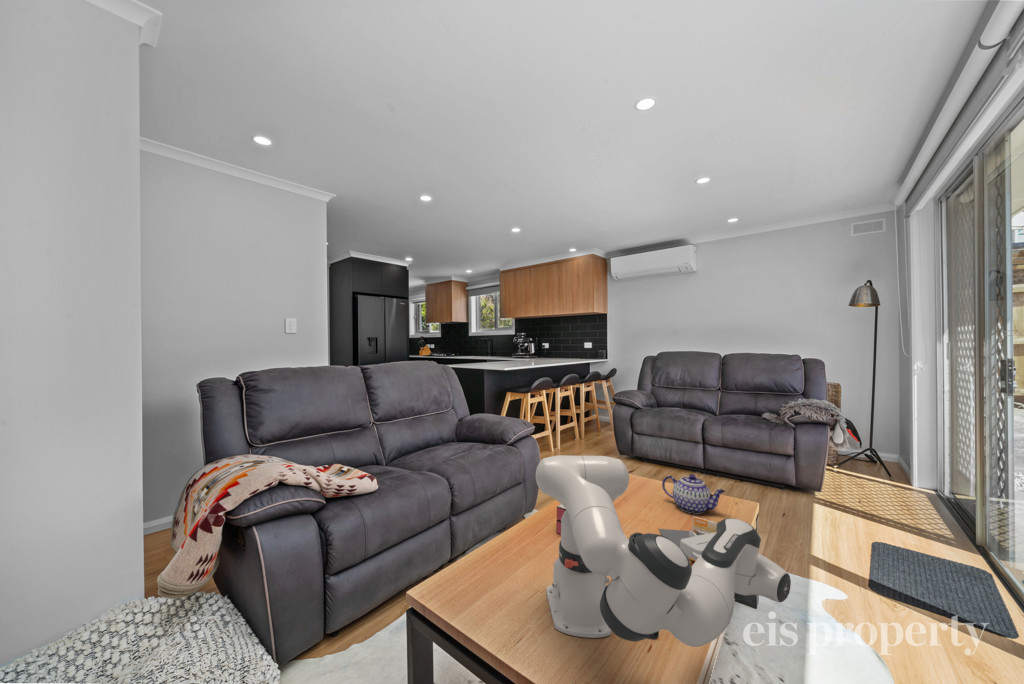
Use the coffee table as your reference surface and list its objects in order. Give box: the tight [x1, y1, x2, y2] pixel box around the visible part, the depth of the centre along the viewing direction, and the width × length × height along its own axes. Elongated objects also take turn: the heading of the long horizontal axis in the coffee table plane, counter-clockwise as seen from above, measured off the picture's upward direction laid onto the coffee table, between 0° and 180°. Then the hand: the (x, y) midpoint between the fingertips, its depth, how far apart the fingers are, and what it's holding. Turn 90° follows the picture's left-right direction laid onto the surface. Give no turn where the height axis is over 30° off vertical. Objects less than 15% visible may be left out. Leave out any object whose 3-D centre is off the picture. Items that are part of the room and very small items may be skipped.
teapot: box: [661, 473, 726, 515], centre depth 164 cm, size 25×15×15 cm, turn 46°
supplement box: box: [689, 516, 718, 562], centre depth 124 cm, size 8×5×13 cm, turn 63°
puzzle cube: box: [555, 503, 566, 535], centre depth 143 cm, size 10×10×10 cm
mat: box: [658, 528, 691, 561], centre depth 135 cm, size 20×14×1 cm
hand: (692, 532), depth 123 cm, fingers closed
